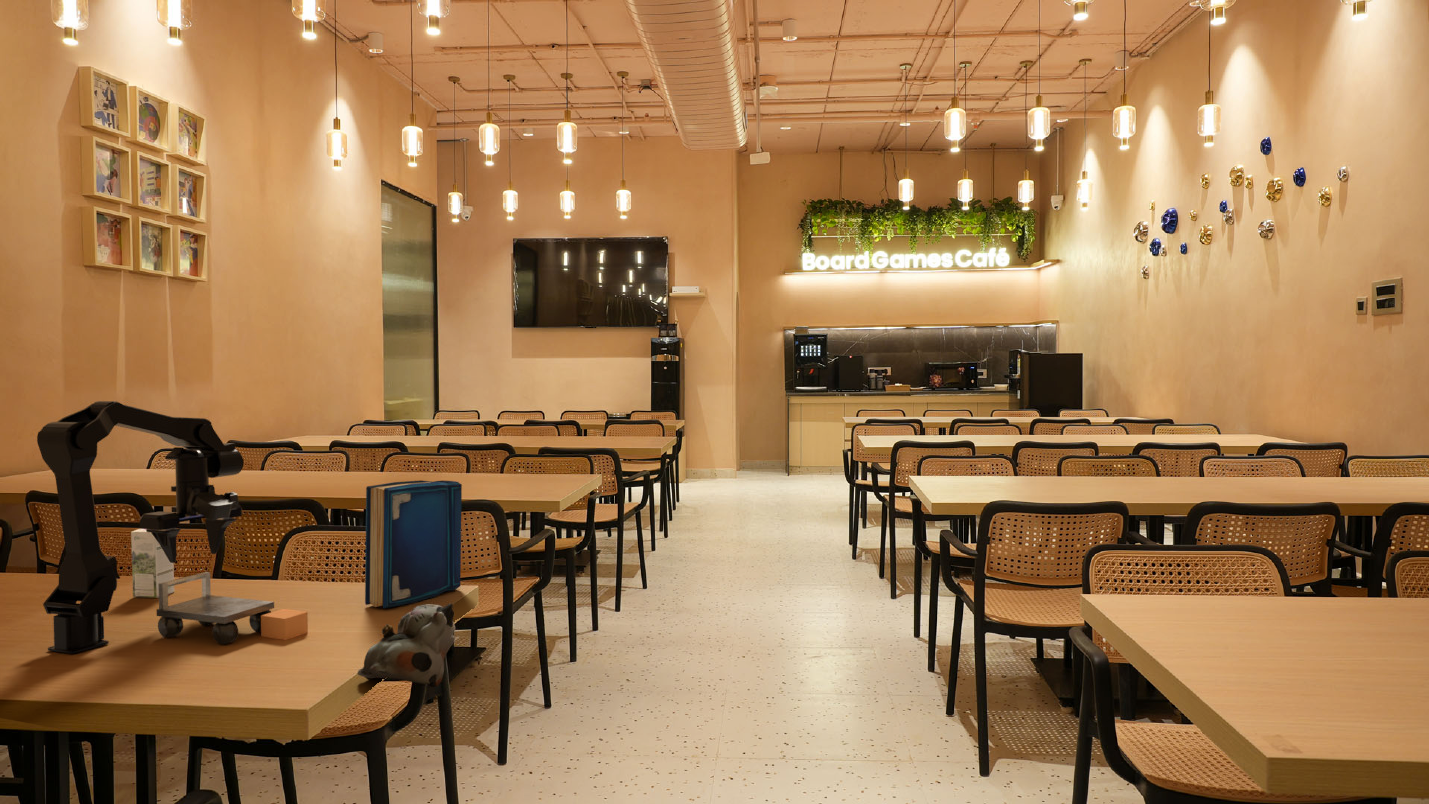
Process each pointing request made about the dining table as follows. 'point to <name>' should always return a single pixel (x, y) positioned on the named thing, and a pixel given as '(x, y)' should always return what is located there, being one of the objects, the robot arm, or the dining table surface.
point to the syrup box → (149, 565)
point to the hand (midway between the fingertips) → (193, 558)
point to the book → (412, 541)
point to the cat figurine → (413, 647)
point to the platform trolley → (208, 611)
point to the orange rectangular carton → (284, 624)
